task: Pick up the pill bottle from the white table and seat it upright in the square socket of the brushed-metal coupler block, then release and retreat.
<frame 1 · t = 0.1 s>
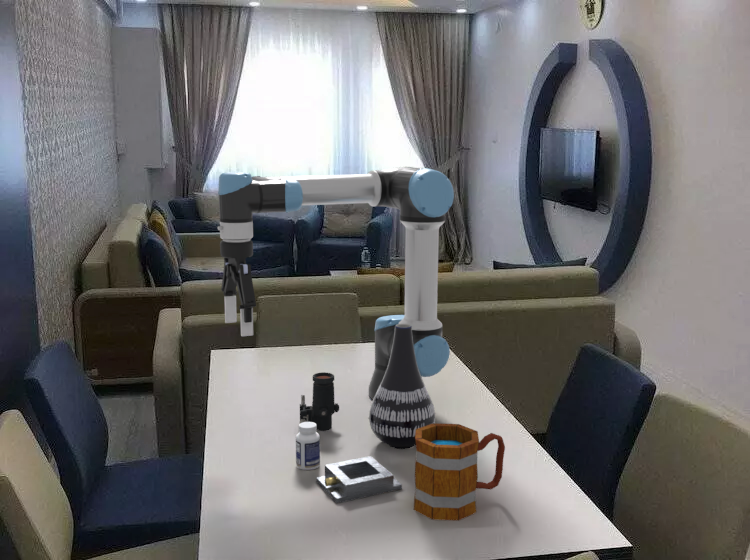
hand: (238, 328, 188), 28 cm above the table, fingers open, 13 cm apart
pill bottle: (308, 466, 179), on the table
mug: (458, 503, 162), on the table
scope: (319, 428, 202), on the table
vase: (401, 444, 192), on the table
coupler block: (358, 485, 170), on the table
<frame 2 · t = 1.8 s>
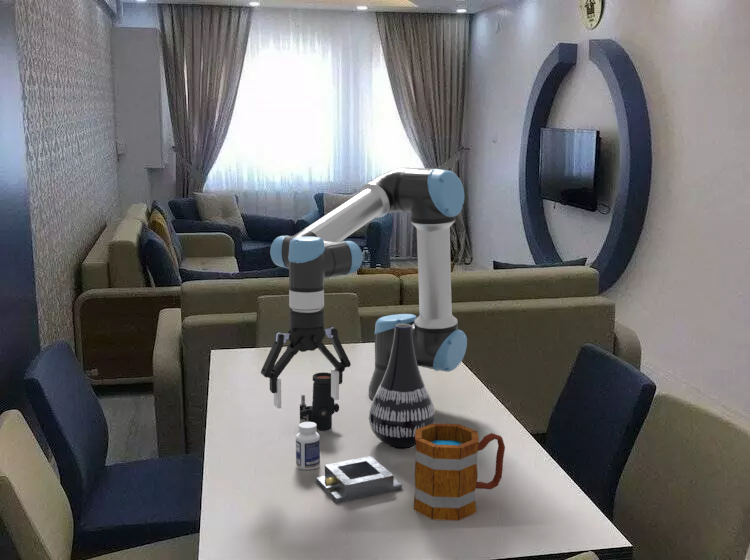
hand: (306, 402, 176), 15 cm above the table, fingers open, 13 cm apart
nothing on the table moved.
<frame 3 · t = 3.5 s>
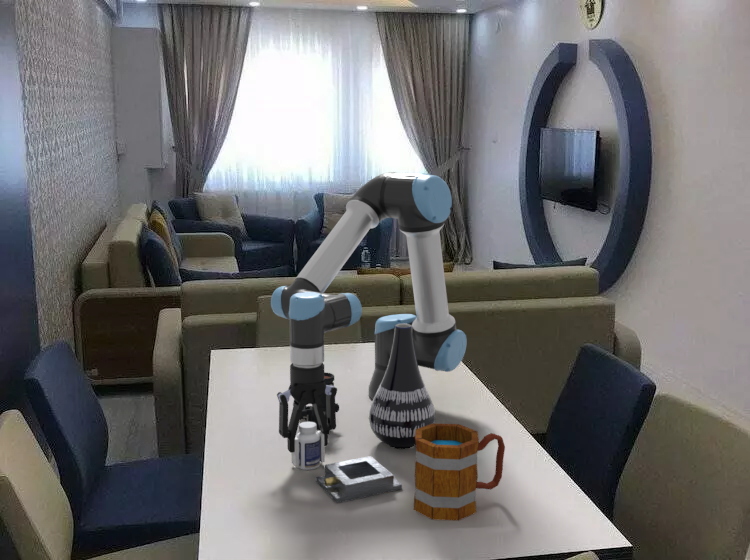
hand: (308, 462, 179), 1 cm above the table, fingers closed on pill bottle, 5 cm apart
pill bottle: (308, 466, 179), on the table, touching gripper
everything else where it was.
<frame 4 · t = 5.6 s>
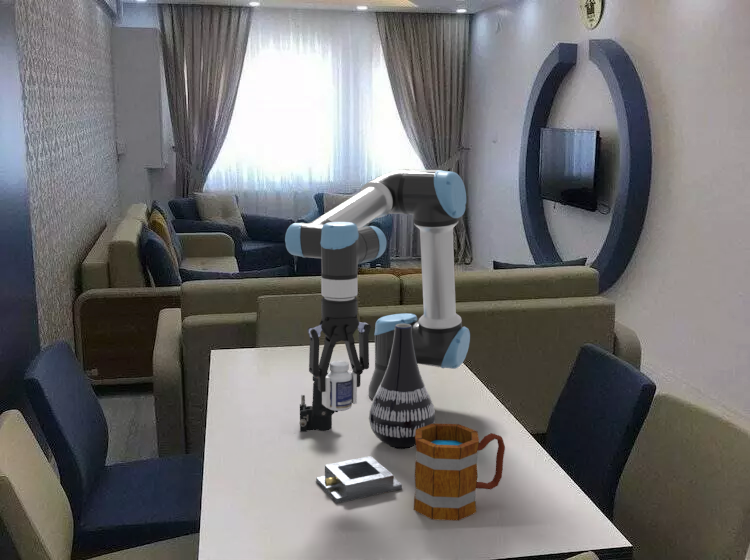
hand: (339, 403, 170), 17 cm above the table, fingers closed on pill bottle, 5 cm apart
pill bottle: (339, 408, 170), point 16 cm above the table, touching gripper
everything else where it was.
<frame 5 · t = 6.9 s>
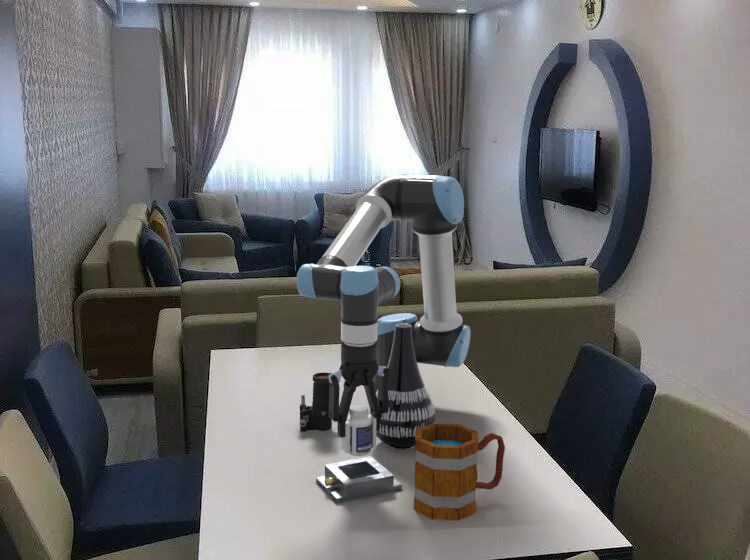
hand: (358, 447, 168), 8 cm above the table, fingers closed on pill bottle, 5 cm apart
pill bottle: (358, 452, 168), point 7 cm above the table, touching gripper
everything else where it was.
when the fingers open (4 cm above the table, at t = 7.8 s): pill bottle drops 2 cm, resting on coupler block.
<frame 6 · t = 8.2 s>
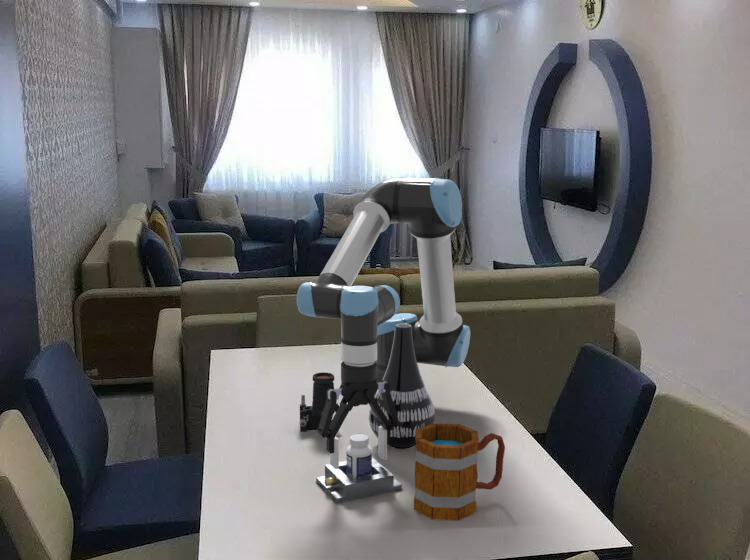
hand: (358, 461, 169), 5 cm above the table, fingers open, 10 cm apart
pill bottle: (359, 481, 170), point 1 cm above the table, touching coupler block
everything else where it was.
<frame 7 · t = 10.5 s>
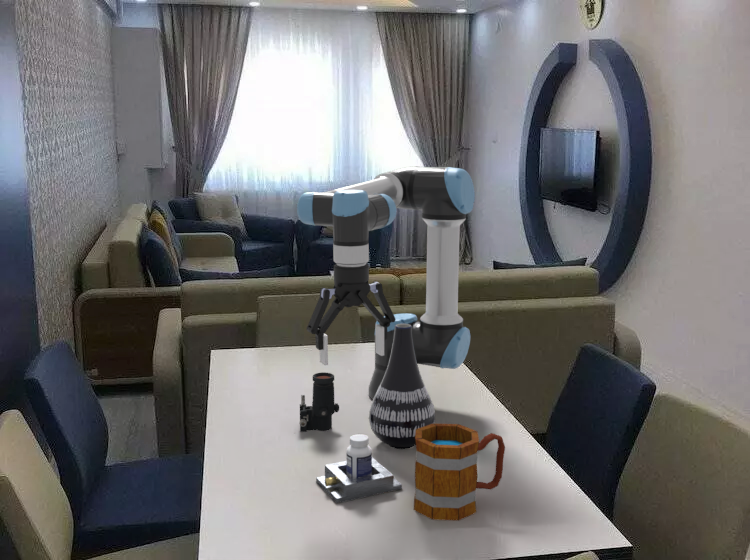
hand: (352, 358, 174), 25 cm above the table, fingers open, 13 cm apart
nothing on the table moved.
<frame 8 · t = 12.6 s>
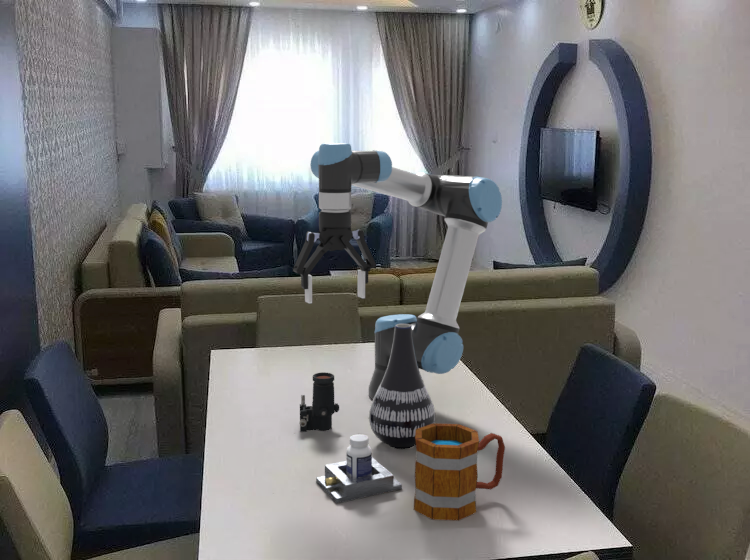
hand: (335, 300, 189), 35 cm above the table, fingers open, 13 cm apart
nothing on the table moved.
at the end: pill bottle 0.1 cm off-centre on the coupler block, point 0.8 cm above the coupler block's base; pill bottle tilted 0°; the gripper is holding nothing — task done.
